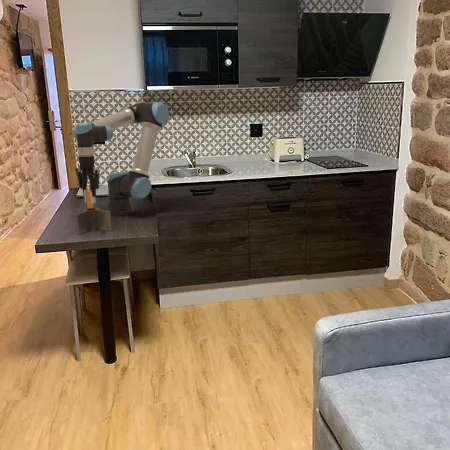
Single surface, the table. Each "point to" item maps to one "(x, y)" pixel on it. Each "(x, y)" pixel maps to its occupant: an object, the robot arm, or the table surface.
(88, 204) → the hinge pin
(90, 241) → the table surface
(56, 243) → the table surface
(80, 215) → the hinge
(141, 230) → the table surface
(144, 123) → the robot arm
